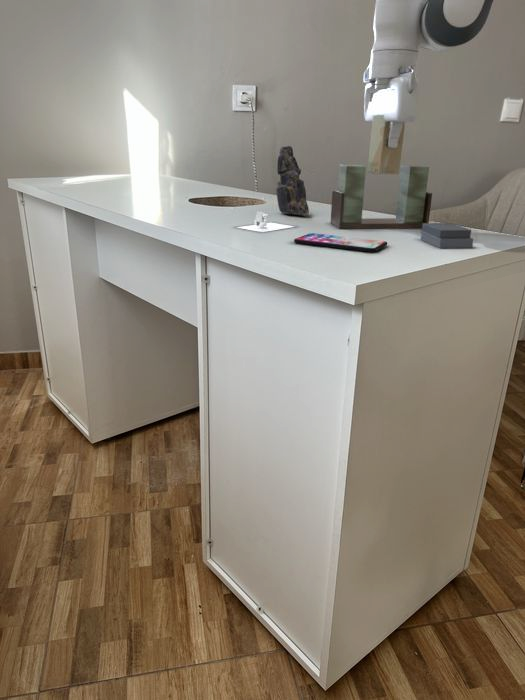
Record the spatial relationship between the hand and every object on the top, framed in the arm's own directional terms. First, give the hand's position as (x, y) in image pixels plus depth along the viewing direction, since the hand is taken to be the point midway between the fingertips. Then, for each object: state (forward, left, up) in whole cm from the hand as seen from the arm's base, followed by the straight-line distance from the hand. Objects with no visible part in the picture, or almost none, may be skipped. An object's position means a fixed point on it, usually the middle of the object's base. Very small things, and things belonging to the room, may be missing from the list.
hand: (386, 147), depth 111 cm
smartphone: (+14, +20, -16) cm, 29 cm away
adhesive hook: (+24, +1, -16) cm, 29 cm away
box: (0, 0, -5) cm, 5 cm away
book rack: (0, 0, -16) cm, 16 cm away
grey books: (-5, +20, -16) cm, 26 cm away
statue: (+15, -17, -16) cm, 28 cm away
